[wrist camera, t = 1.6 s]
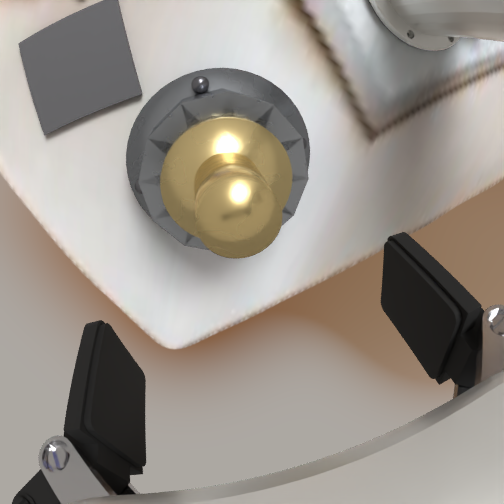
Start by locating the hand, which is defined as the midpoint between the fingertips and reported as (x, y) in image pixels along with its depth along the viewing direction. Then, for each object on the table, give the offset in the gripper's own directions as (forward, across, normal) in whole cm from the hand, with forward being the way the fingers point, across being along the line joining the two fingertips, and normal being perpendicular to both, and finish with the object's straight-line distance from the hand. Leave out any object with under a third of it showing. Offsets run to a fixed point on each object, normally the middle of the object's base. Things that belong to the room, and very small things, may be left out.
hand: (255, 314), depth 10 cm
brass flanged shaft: (+16, -1, 0) cm, 16 cm away
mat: (+19, +8, -12) cm, 24 cm away
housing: (+19, -1, 0) cm, 19 cm away
